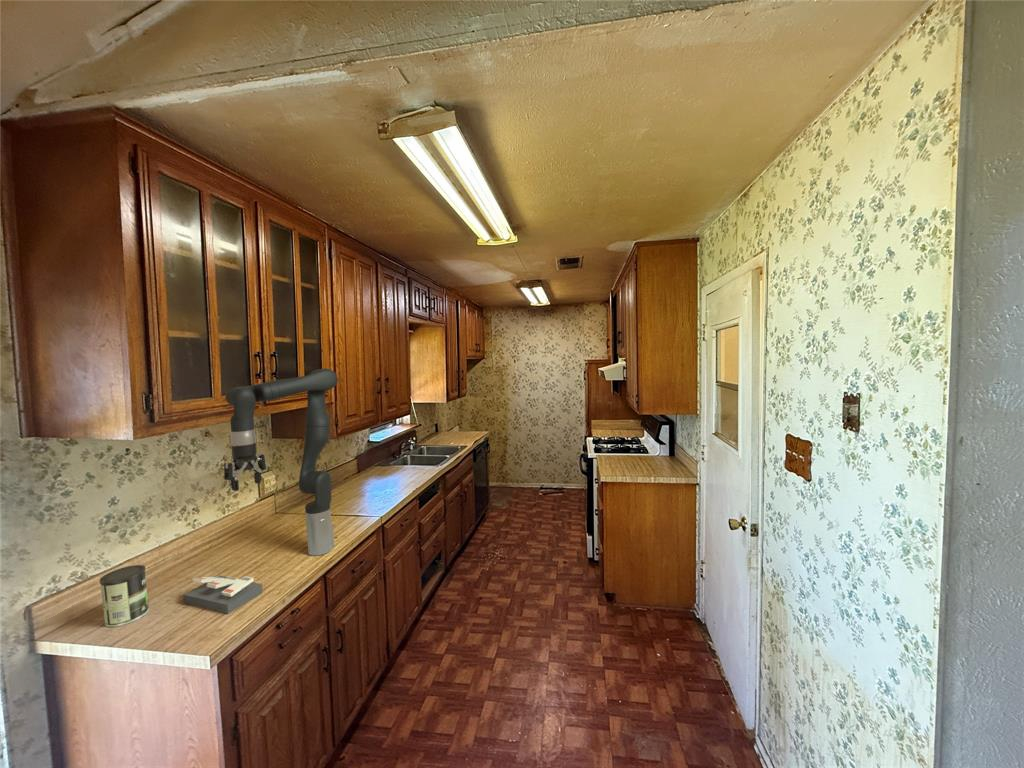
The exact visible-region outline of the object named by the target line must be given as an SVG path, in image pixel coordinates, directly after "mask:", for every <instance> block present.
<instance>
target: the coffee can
mask: <svg viewBox="0 0 1024 768" xmlns="http://www.w3.org/2000/svg"><path fill="white" fill-rule="evenodd" d="M146 577H147V576H146V565H144V564H138V565H137V564H136V565H129V566H125V567H120V568H118V569H115V570H112V571H110V572H108V573H106V574H104V575H103V576H102V577H100V578H99V583H100V591H101V598H102V599H101V600H102V608H103V609H102V610H103V617H104V618H103V619H104V626H105V627H107V628H117V627H121V626H122V627H123V626H125V625H127V624H131V623H133V622H136V621H138V620H139V619H141V618H143V617H144V616H146V615H147V614H148V613H149V612H150V607H149V597H148V586H147V578H146Z"/></svg>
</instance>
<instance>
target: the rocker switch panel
mask: <svg viewBox="0 0 1024 768" xmlns="http://www.w3.org/2000/svg"><path fill="white" fill-rule="evenodd" d="M217 577H222V578H224V579H226V578H230V577H227V576H224V575H218V576H217ZM207 583H211V582H206V583H202V584H200V585H199V586H196V587H195V588H193V589H191V590H189V591H187V592H185V593H184V594H183V595H182V596H183V604H185V605H188V606H193V607H197V608H201V609H206V610H211V611H213V612H218V613H222V614H227V615H229V614H231V613H232V612H234V611H235V610H237V609H239V608H240V607H243V606H244V605H245V604H247V603H249V602H250V601H252V600H253V599H255V598H257V597H258V596H260V595H261V594H263V584H262V583H257V582H254V581H253V582H251V583H250V584H249V585H247V586H246V587H244V589H242V590H240V591H239V592H237V593H236V594H235V595H233V596H232V597H229V596H225V595H222V593H221V592H222V591H224V590H225V589H227V588H228V587H230V586H231V585H232V584H230V585H229V586H223V587H219V588H216V589H215V588H210V587H207Z"/></svg>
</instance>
